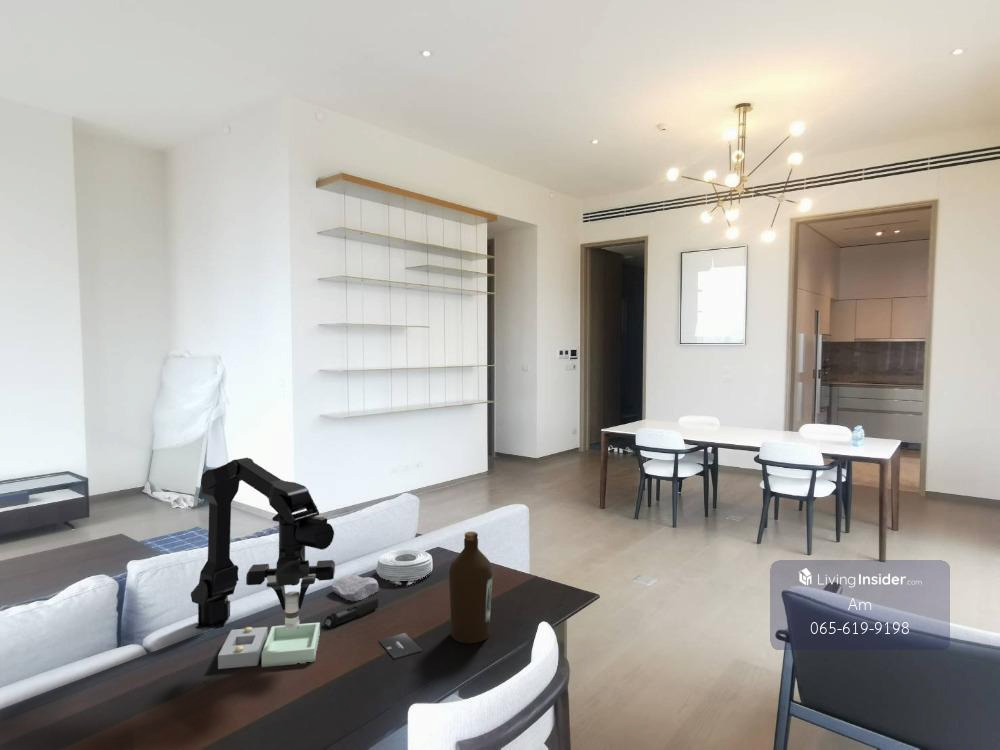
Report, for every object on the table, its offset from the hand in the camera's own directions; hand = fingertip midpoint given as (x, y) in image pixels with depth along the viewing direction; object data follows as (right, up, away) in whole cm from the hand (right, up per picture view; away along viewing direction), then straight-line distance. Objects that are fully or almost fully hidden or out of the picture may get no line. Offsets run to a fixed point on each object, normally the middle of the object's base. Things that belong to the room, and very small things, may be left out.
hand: (292, 608), depth 133 cm
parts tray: (0, -10, 0) cm, 10 cm away
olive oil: (+41, -10, +9) cm, 43 cm away
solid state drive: (+24, -10, +3) cm, 27 cm away
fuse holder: (-10, -10, -1) cm, 14 cm away
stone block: (+6, -9, +33) cm, 34 cm away
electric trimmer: (+9, -10, +17) cm, 22 cm away
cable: (+18, -9, +48) cm, 52 cm away
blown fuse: (0, -5, 0) cm, 5 cm away
